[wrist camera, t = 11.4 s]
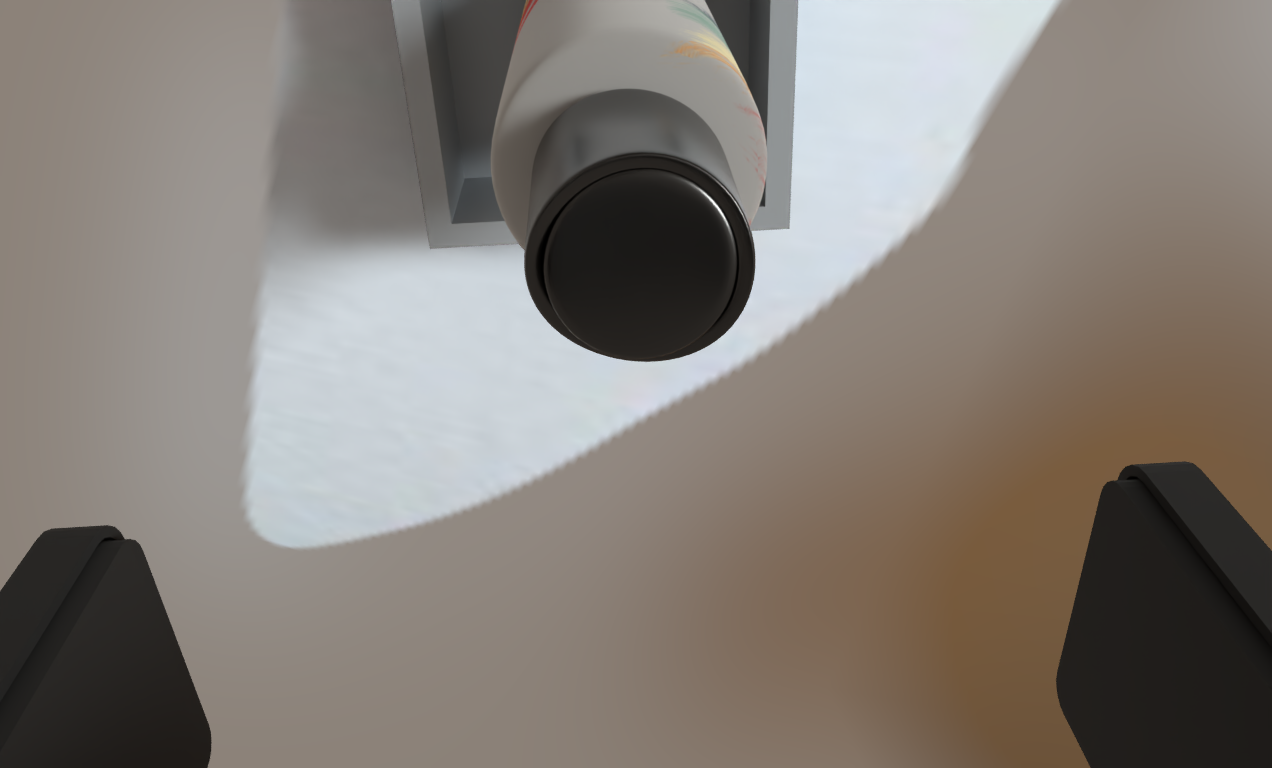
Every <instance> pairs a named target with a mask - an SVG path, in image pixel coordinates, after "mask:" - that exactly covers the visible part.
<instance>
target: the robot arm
mask: <svg viewBox="0 0 1272 768" xmlns="http://www.w3.org/2000/svg"><path fill="white" fill-rule="evenodd" d="M1056 682H1057V683H1056V684H1057V694H1058V699H1059V702H1060V706H1061V708H1062V711H1063V714H1064V716H1065V718H1066V720H1067V722H1068V724H1069V725H1070V727H1071V729H1072V731H1073V733H1074V735H1075V737H1076V739H1077V741H1078V743H1079V745H1080V747H1081V749H1082V751H1083V753H1084V755H1085V757H1086V759H1087V761H1088V763H1089V765H1090V767H1091V768H1272V551H1271V549H1270V548H1269V547H1268V546H1267V545H1266V544H1265V543H1264V541H1263V540H1262V539H1261V538H1260V537H1259V536H1258V535H1257V533H1256V532H1255V531H1254V530H1253V529H1252V528H1251V527H1250V526H1249V524H1248V523H1247V522H1246V521H1245V520H1244V519H1243V517H1242V516H1241V515H1240V514H1239V513H1238V512H1237V510H1236V509H1235V508H1234V507H1233V506H1232V505H1231V504H1230V502H1229V501H1228V500H1227V499H1226V498H1225V497H1224V496H1223V495H1222V493H1221V492H1220V491H1219V490H1218V489H1217V488H1216V487H1215V485H1214V484H1213V483H1212V482H1211V481H1210V480H1209V478H1208V477H1207V476H1206V475H1205V474H1204V473H1203V472H1202V470H1201V469H1199V468H1198V467H1197V466H1196V465H1195V464H1193V463H1189V462H1170V463H1154V464H1136V465H1130V466H1127V467H1125V468H1124V469H1123V470H1122V472H1121V473H1120V475H1119V477H1118V480H1117V481H1110V482H1107V483H1106V484H1105V486H1104V487H1103V489H1102V492H1101V495H1100V499H1099V503H1098V507H1097V511H1096V515H1095V519H1094V524H1093V528H1092V532H1091V536H1090V540H1089V544H1088V548H1087V552H1086V556H1085V560H1084V564H1083V569H1082V573H1081V577H1080V581H1079V585H1078V589H1077V593H1076V598H1075V601H1074V606H1073V610H1072V614H1071V618H1070V622H1069V626H1068V630H1067V634H1066V638H1065V643H1064V647H1063V651H1062V655H1061V659H1060V663H1059V667H1058V672H1057V678H1056ZM210 754H211V731H210V728H209V724H208V721H207V719H206V716H205V714H204V711H203V708H202V705H201V703H200V700H199V698H198V695H197V692H196V690H195V687H194V684H193V682H192V679H191V676H190V674H189V671H188V668H187V666H186V663H185V660H184V658H183V655H182V653H181V650H180V647H179V645H178V642H177V640H176V637H175V634H174V631H173V629H172V626H171V624H170V621H169V618H168V615H167V613H166V610H165V608H164V605H163V602H162V600H161V597H160V594H159V592H158V589H157V587H156V584H155V581H154V578H153V576H152V573H151V570H150V568H149V565H148V562H147V560H146V557H145V555H144V552H143V550H142V548H141V546H140V544H139V543H138V542H137V541H136V540H131V539H127V540H126V539H124V537H123V536H122V534H121V532H120V531H119V530H118V529H117V528H115V527H113V526H108V525H106V526H89V527H75V528H74V527H73V528H57V529H56V528H55V529H50V530H47V531H45V532H43V533H42V535H40V537H39V538H38V539H37V540H36V542H35V543H34V544H33V546H32V547H31V548H30V550H29V551H28V553H27V554H26V556H25V557H24V558H23V560H22V561H21V563H20V564H19V565H18V567H17V568H16V570H15V571H14V573H13V574H12V575H11V577H10V578H9V580H8V581H7V582H6V584H5V585H4V587H3V588H2V590H1V591H0V768H207V767H208V763H209V759H210Z"/></svg>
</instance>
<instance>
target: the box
mask: <svg viewBox="0 0 1272 768" xmlns="http://www.w3.org/2000/svg"><path fill="white" fill-rule="evenodd" d="M705 2H706V4H707V6H708V8H709V10H710V12H711V14H712V16H713V18H714V20H715V22H716V24H717V26H718V28H719V30H720V32H721V34H722V36H723V38H724V40H725V42H726V44H727V45H728V47H729V49H730V51H731V53H732V55H733V57H734V59H735V61H736V63H737V65H738V67H739V69H740V71H741V73H742V75H743V77H744V79H745V81H746V83H747V86H748V88H749V90H750V92H751V94H752V97H753V99H754V101H755V104H756V106H757V109H758V111H759V114H760V117H761V121H762V124H763V127H764V132H765V138H766V146H767V172H766V181H765V186H764V191H763V195H762V199H761V202H760V205H759V208H758V210H757V212H756V215H755V217H754V219H753V221H752V223H751V225H750V228H751V231H757V230H775V229H789V226H790V200H791V174H792V148H793V122H794V96H795V70H796V44H797V18H798V0H705ZM525 3H526V0H391V4H392V11H393V17H394V23H395V30H396V36H397V42H398V49H399V55H400V61H401V68H402V74H403V81H404V87H405V93H406V100H407V106H408V112H409V119H410V125H411V131H412V138H413V144H414V151H415V157H416V163H417V170H418V176H419V182H420V189H421V195H422V201H423V208H424V214H425V220H426V227H427V233H428V240H429V246H430V249H433V248H451V247H469V246H487V245H505V244H519V243H518V242H517V240H516V239H515V238H514V236H513V235H512V233H511V231H510V230H509V228H508V226H507V225H506V223H505V220H504V218H503V216H502V214H501V211H500V209H499V206H498V203H497V200H496V196H495V192H494V188H493V183H492V175H491V148H492V138H493V133H494V127H495V122H496V117H497V113H498V109H499V104H500V100H501V96H502V92H503V89H504V85H505V81H506V77H507V73H508V69H509V65H510V61H511V57H512V53H513V49H514V45H515V41H516V37H517V34H518V30H519V26H520V22H521V18H522V14H523V10H524V6H525Z"/></svg>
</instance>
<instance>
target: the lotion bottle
mask: <svg viewBox="0 0 1272 768" xmlns="http://www.w3.org/2000/svg"><path fill="white" fill-rule="evenodd" d="M766 172H767V146H766V138H765V132H764V127H763V124H762V121H761V117H760V114H759V111H758V109H757V106H756V104H755V101H754V99H753V97H752V94H751V92H750V90H749V88H748V86H747V83H746V81H745V79H744V77H743V75H742V73H741V71H740V69H739V67H738V65H737V63H736V61H735V59H734V57H733V55H732V53H731V51H730V49H729V47H728V45H727V44H726V42H725V40H724V38H723V36H722V34H721V32H720V30H719V28H718V26H717V24H716V22H715V20H714V18H713V16H712V14H711V12H710V10H709V8H708V6H707V4H706V2H705V0H526V3H525V6H524V10H523V14H522V18H521V22H520V26H519V30H518V34H517V37H516V41H515V45H514V49H513V53H512V57H511V61H510V65H509V69H508V73H507V77H506V81H505V85H504V89H503V92H502V96H501V100H500V104H499V109H498V113H497V117H496V122H495V127H494V133H493V138H492V148H491V175H492V183H493V188H494V192H495V196H496V200H497V203H498V206H499V209H500V211H501V214H502V216H503V218H504V220H505V223H506V225H507V226H508V228H509V230H510V231H511V233H512V235H513V236H514V238H515V239H516V240H517V242H518V243H519V245H520V246H521V247H522V248H523V249H524V250H525V253H524V268H525V277H526V282H527V286H528V289H529V292H530V295H531V297H532V299H533V301H534V303H535V305H536V307H537V308H538V310H539V311H540V313H541V314H542V316H543V317H544V318H545V319H546V320H547V322H548V323H549V324H550V325H551V326H552V327H553V328H554V329H556V330H557V331H558V332H559V333H560V334H562V335H563V336H565V337H566V338H567V339H569V340H571V341H572V342H574V343H576V344H577V345H579V346H581V347H584V348H586V349H588V350H590V351H593V352H595V353H598V354H601V355H605V356H608V357H612V358H616V359H622V360H629V361H643V362H651V361H664V360H671V359H675V358H680V357H683V356H686V355H690V354H692V353H695V352H697V351H699V350H701V349H703V348H705V347H707V346H709V345H710V344H712V343H713V342H715V341H716V340H718V339H719V338H720V337H721V336H722V335H724V334H725V333H726V332H727V331H728V330H729V329H730V328H731V327H732V325H733V324H734V323H735V322H736V320H737V319H738V318H739V316H740V314H741V313H742V311H743V309H744V307H745V305H746V303H747V301H748V298H749V295H750V292H751V289H752V285H753V281H754V274H755V249H754V242H753V237H752V232H751V228H750V225H751V223H752V221H753V219H754V217H755V215H756V212H757V210H758V208H759V205H760V202H761V199H762V195H763V191H764V186H765V181H766Z"/></svg>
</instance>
